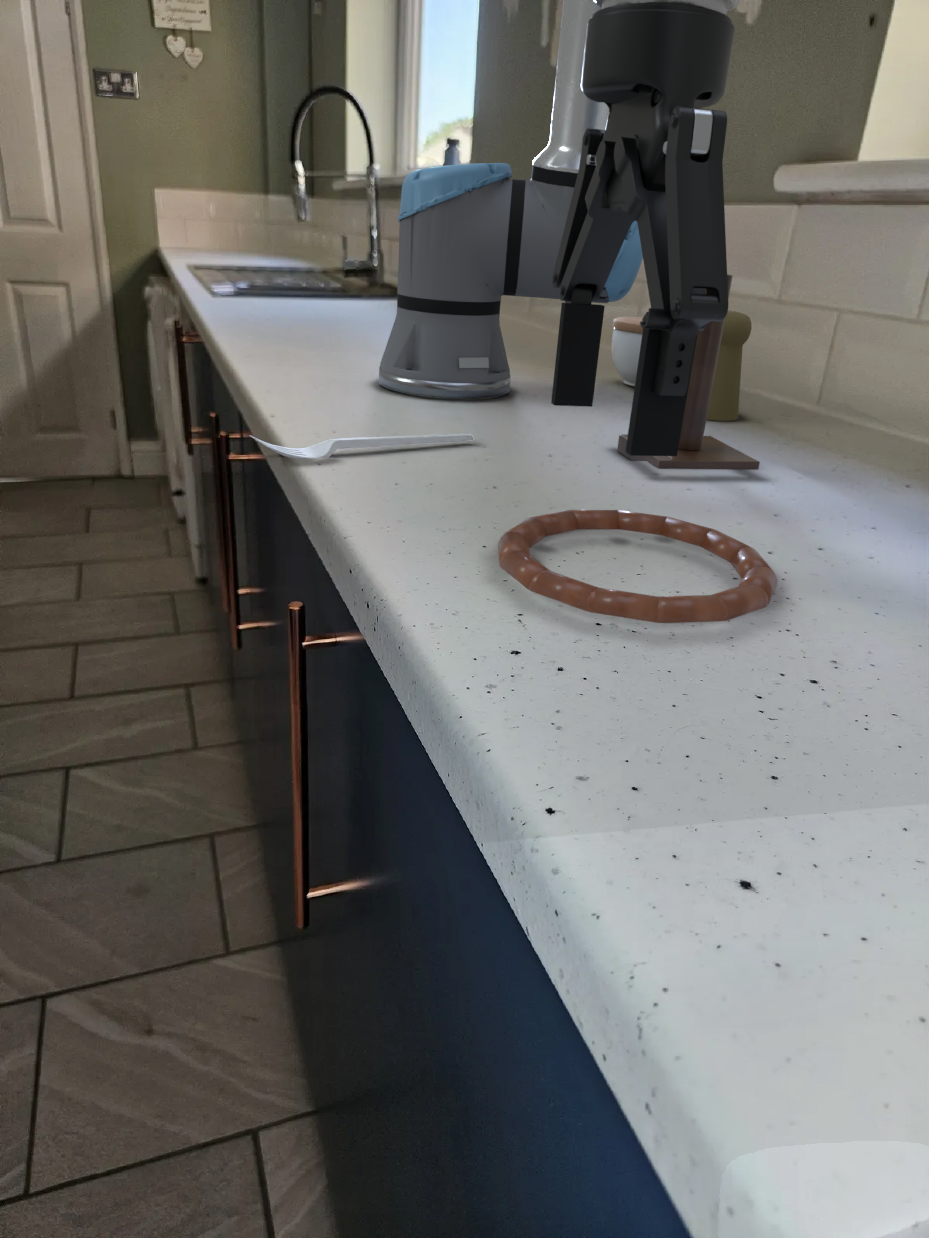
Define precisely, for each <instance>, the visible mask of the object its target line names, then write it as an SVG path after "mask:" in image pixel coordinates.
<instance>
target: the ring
mask: <svg viewBox="0 0 929 1238" xmlns="http://www.w3.org/2000/svg"><path fill="white" fill-rule="evenodd" d="M577 530H622V531H629V532H635V533H643V534H651V535H657V536H663V537H666V538H670V539H673V540H677V541H680V542H682V543H683V542H684V543H687V544H690V545H694V546H698V547H699V548H700V547H701V548H703V549H705V550H706V551H708V552H710V553H712V554H713V555H716V556H718V557H720V558H721V559H723V560H725V561H728V562H729V563H730V564H731V565H732V567H733V568H734V569H735V571H736V572H737V574H738V575H739V576H740V577H741V581H740V583H739V585H738V586H735V587H732V588H728V589H725V590H722V591H719V592H716V593H713V594H700V595H699V594H695V595H663V596H662V595H660V596H659V595H651V594H645V593H637V592H631V591H626V590H625V591H624V590H618V589H611V588H605V587H598V586H595V585H592V584H590V583H587V582H584V581H582V580H578V579H575V578H572V577H570V576H566V575H563V574H560V573H557V572H555V571H552V570H550V569H549V568H548V567H546V566H545V565H544V564H542V563H541V562H539V561H538V560H536V558H534V557H532V556H531V551H530V549H531V548H532V547H533V546H535V545H536V544H537V543H539V542H540V541H541V540H543V539H544V538H545V537H549V536H553V535H559V534H563V533H567V532H573V531H577ZM497 546H498V547H497V548H498V562H499V564H498V565H499V567H500V568H501V569H502V570H503V571H505V573H507V574H508V575H510V576H511V577H512V578H513V579H514V580H516V581H517V582H519V583H520V584H521V585H522V586H524V587H525V588H526V589H527V590H528V591H530V592H533V593H535V594H537V595H541V596H544V597H546V598H549V599H552V600H554V601H557V602H560V603H563V604H566V605H568V606H571V607H573V608H577V609H579V610H582V611H584V612H589V613H593V614H599V615H606V616H612V617H618V618H619V617H620V618H624V619H625V618H626V619H632V620H638V621H643V622H644V621H645V622H650V623H651V622H652V623H656V624H657V623H658V624H667V623H669V624H670V623H671V624H673V623H674V624H675V623H698V622H700V623H702V622H726V621H729V620H732V619H735V618H738V617H741V616H743V615H746V614H749V613H752V612H755V611H758V610H762V609H763V608H766V607H767V606H768V605H769V604H770V601H771V599H772V597H773V594H774V592H775V591H776V588H777V586H778V577H777V574H776V573H775V571H774V570H773V569H772V567H771V566H770V565H769V564H768V563H767V561H766V560H765V559H764V558H763V557H762V555H761V554H760V553H759V552H758V550H756V549H755V548H754V547H751V546H749V545H748V544H745V543H744V542H741V541H740V540H738V539H736V538H734V537H732V536H730V535H728V534H725V533H724V532H722V531H719V530H717V529H714V528H710V527H707V526H704V525H700V524H696V523H693V522H689V521H685V520H682V519H678V518H674V517H671V516H666V515H660V514H659V515H657V514H651V513H645V512H636V511H629V510H622V509H568V510H562V511H557V512H552V513H546V514H541V515H536V516H531V517H528V518H526V519H524V520H523V521H521V522H520V523H518V524H516V525H515V526H514V527H512V528H510V529H509V530H508V531H505V533H503V534H502V535H501V536H500V538H499V540H498V543H497Z"/></svg>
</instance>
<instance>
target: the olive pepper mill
mask: <svg viewBox="0 0 929 1238" xmlns="http://www.w3.org/2000/svg"><path fill="white" fill-rule="evenodd" d="M752 326H753V325H752V320H751V318H750V316H748V315H747V314H745V313H742V312H739V311H736V310H729V309H728V312H727V315H726V317H725V321H724V326H723V332H722V337H721V343H720V348H719V354H718V359H717V365H716V370H715V375H714V381H713V386H712V392H711V397H710V403H709V408H708V414H707V419H706V421H707V420H708V421H717V422H731V421H736V420H738V419H739V409H740V408H739V407H740V392H741V376H742V363H743V362H742V361H743V346H744V344H745V343H747V342H748V340H749V338H750V335H751V332H752Z"/></svg>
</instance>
